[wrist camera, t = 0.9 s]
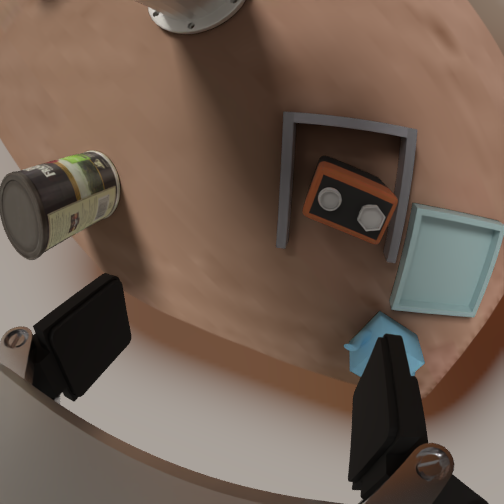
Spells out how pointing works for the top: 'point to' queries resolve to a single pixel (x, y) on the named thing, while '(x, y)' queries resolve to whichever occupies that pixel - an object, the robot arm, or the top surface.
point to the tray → (445, 262)
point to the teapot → (368, 336)
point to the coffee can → (57, 200)
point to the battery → (349, 200)
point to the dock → (405, 133)
